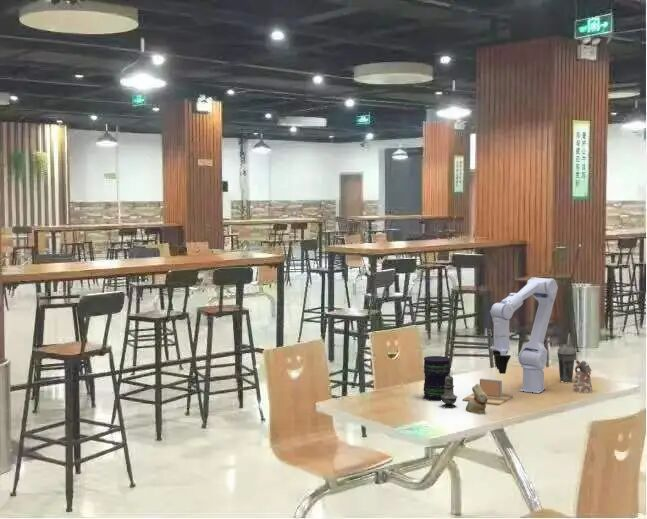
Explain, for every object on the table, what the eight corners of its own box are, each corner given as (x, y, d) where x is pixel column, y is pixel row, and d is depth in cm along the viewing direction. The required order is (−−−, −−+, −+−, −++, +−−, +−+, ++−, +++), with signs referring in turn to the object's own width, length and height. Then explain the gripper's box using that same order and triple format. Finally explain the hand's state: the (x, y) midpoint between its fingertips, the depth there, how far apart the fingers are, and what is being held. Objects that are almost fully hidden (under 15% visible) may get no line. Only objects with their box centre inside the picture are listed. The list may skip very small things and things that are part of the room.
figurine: (588, 394, 314) (588, 363, 313) (570, 391, 318) (570, 360, 318) (594, 390, 320) (595, 360, 319) (576, 388, 324) (577, 358, 323)
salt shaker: (444, 408, 292) (444, 375, 291) (438, 405, 297) (438, 372, 296) (460, 407, 293) (460, 374, 292) (453, 404, 299) (453, 371, 298)
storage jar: (449, 401, 302) (449, 361, 302) (422, 400, 304) (422, 360, 304) (450, 395, 312) (451, 356, 311) (424, 394, 314) (424, 355, 313)
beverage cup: (553, 380, 339) (553, 332, 337) (568, 379, 341) (569, 331, 339) (563, 384, 332) (564, 334, 330) (578, 383, 334) (579, 334, 333)
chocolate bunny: (474, 414, 283) (474, 386, 283) (464, 409, 291) (464, 381, 290) (488, 413, 285) (489, 385, 284) (478, 408, 292) (478, 380, 292)
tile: (481, 394, 312) (481, 378, 311) (501, 396, 308) (501, 380, 307) (479, 395, 310) (479, 379, 310) (500, 397, 306) (500, 381, 306)
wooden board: (477, 392, 316) (477, 391, 316) (512, 397, 309) (512, 395, 309) (462, 400, 304) (462, 399, 304) (499, 405, 296) (499, 403, 296)
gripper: (488, 332, 315) (488, 367, 316) (492, 338, 301) (492, 375, 301) (507, 332, 314) (507, 367, 315) (512, 338, 300) (511, 375, 301)
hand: (501, 371), depth 308 cm, fingers open, 7 cm apart
